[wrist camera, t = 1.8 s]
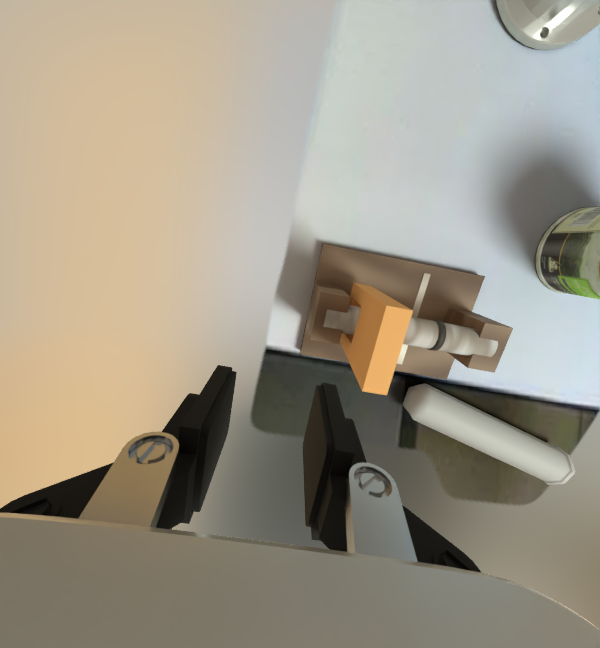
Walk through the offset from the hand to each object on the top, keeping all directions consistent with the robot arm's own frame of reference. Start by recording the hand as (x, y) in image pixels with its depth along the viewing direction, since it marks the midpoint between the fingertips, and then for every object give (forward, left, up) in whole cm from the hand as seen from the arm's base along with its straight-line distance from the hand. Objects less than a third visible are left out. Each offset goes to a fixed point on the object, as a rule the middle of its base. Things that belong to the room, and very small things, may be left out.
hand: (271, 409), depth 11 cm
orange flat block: (0, +8, -22) cm, 23 cm away
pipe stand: (0, +13, -25) cm, 28 cm away
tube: (+13, +30, -26) cm, 42 cm away
